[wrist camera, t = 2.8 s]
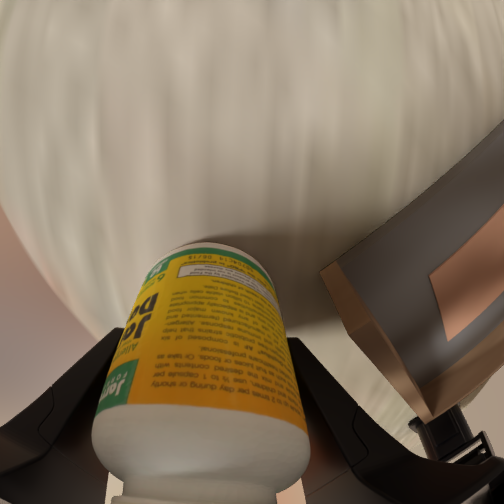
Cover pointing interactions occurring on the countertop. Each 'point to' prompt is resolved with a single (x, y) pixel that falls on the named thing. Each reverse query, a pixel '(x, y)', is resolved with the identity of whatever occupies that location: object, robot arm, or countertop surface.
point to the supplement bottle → (203, 387)
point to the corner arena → (433, 286)
